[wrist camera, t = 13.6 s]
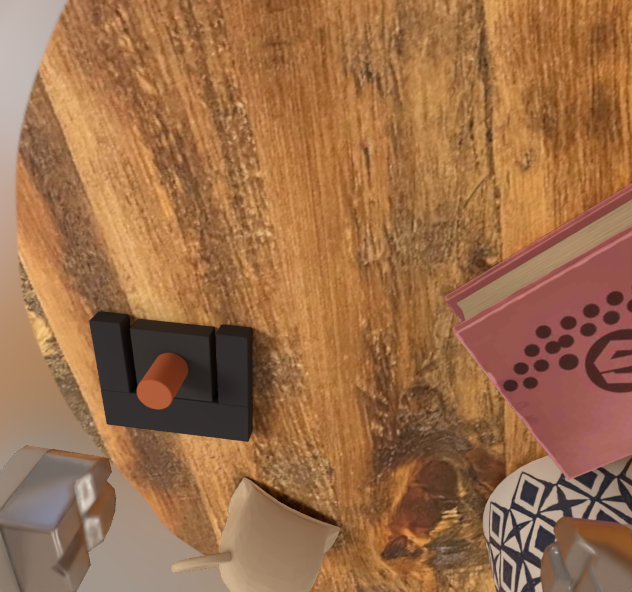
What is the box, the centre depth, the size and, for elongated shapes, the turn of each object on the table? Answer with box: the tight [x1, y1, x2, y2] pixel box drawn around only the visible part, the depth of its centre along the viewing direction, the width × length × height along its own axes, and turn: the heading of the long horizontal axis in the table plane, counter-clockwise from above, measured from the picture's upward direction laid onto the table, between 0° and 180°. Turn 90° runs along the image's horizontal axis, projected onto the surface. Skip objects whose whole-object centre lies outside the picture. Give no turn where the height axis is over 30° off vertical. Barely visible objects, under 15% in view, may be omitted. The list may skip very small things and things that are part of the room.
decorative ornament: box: [172, 477, 340, 592], centre depth 44 cm, size 6×12×8 cm, turn 58°
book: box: [445, 184, 632, 480], centre depth 32 cm, size 14×15×5 cm
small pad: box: [130, 319, 217, 409], centre depth 38 cm, size 6×6×5 cm
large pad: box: [89, 312, 252, 442], centre depth 40 cm, size 12×10×2 cm
